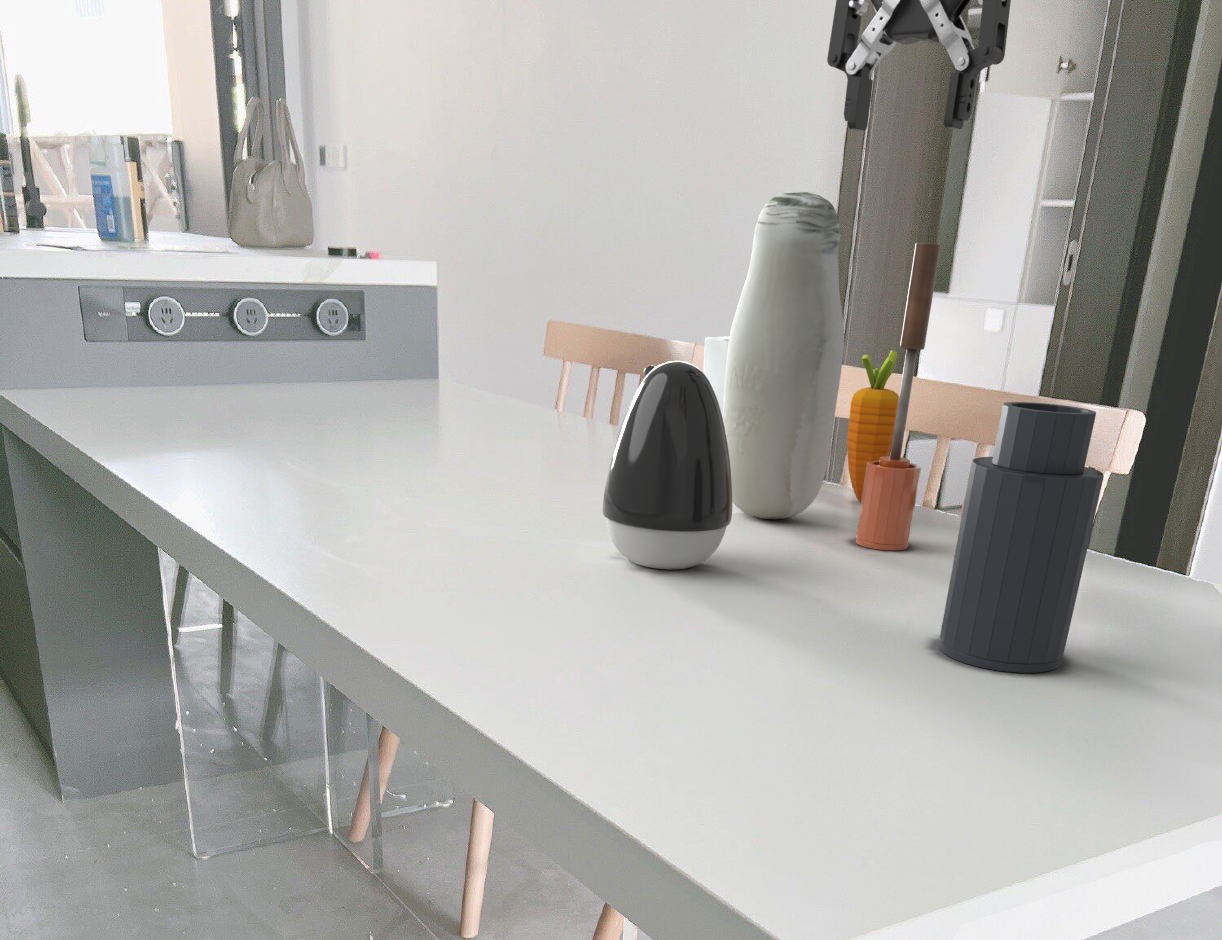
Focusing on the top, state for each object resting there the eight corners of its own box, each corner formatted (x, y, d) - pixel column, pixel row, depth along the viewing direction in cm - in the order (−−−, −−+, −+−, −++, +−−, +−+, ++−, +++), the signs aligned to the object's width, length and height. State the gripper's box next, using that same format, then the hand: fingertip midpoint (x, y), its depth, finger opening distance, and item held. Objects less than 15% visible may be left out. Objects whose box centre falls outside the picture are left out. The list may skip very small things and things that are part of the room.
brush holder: (910, 543, 111) (923, 464, 108) (904, 553, 107) (917, 471, 104) (860, 536, 112) (871, 458, 109) (851, 546, 108) (863, 465, 105)
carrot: (840, 505, 126) (862, 350, 120) (834, 496, 131) (854, 346, 124) (888, 508, 126) (912, 353, 120) (881, 499, 131) (903, 350, 124)
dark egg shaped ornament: (691, 545, 105) (707, 356, 98) (749, 575, 96) (771, 370, 90) (579, 548, 101) (589, 352, 94) (630, 580, 92) (644, 366, 86)
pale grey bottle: (840, 522, 118) (885, 197, 106) (764, 531, 112) (804, 187, 100) (767, 503, 125) (802, 196, 113) (692, 510, 119) (721, 187, 107)
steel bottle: (1062, 648, 83) (1116, 408, 76) (1060, 680, 76) (1118, 420, 69) (944, 630, 85) (987, 396, 78) (932, 660, 78) (978, 407, 72)
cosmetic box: (782, 482, 137) (798, 340, 130) (742, 486, 133) (758, 340, 127) (730, 470, 142) (744, 333, 136) (691, 473, 139) (704, 332, 133)
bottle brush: (899, 538, 110) (946, 245, 100) (895, 543, 108) (943, 244, 98) (870, 534, 111) (914, 243, 101) (865, 539, 109) (910, 242, 99)
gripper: (1045, -112, 92) (1004, 134, 99) (874, -92, 100) (847, 135, 107) (1007, -139, 87) (967, 123, 93) (829, -116, 94) (804, 125, 101)
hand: (903, 129), depth 100 cm, fingers open, 8 cm apart
